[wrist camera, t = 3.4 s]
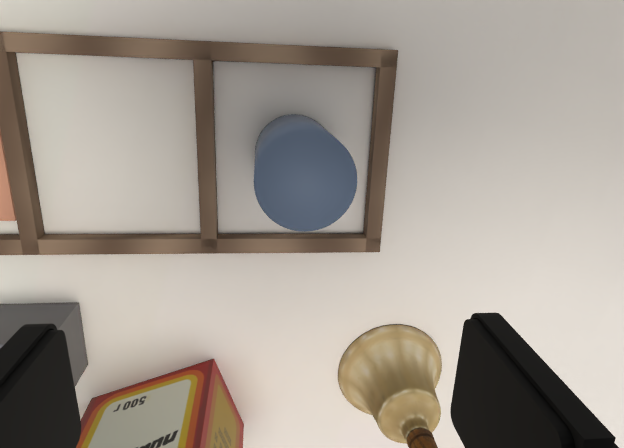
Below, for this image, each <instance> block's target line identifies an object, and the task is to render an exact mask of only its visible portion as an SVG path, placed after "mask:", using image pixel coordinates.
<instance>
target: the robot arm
mask: <svg viewBox="0 0 624 448" xmlns="http://www.w3.org/2000/svg"><path fill="white" fill-rule="evenodd" d="M451 419H452V422H453V425H454V427H455V429H456V431H457V433H458V435H459V437H460V439H461V441H462V443H463V444H464V446H465V448H619V447H618V446H617V445H616V444H615V443H614V441H615V437H614V436H613V435H612V434H611V433H610V431H609V430H608V429H607V428H606V427H605V426H604V425H603V424H602V423H601V422H600V421H599V420H598V419H597V418H596V416H595V415H594V414H593V413H592V412H591V411H590V410H589V409H588V408H587V407H586V406H585V405H584V404H583V403H582V401H581V400H580V399H579V398H578V397H577V396H576V395H575V394H574V393H573V392H572V391H571V390H570V389H569V388H568V387H567V385H566V384H565V383H564V382H563V381H562V380H561V379H560V378H559V377H558V376H557V375H556V374H555V373H554V372H553V370H552V369H551V368H550V367H549V366H548V365H547V364H546V363H545V362H544V361H543V360H542V359H541V358H540V357H539V355H538V354H537V353H536V352H535V351H534V350H533V349H532V348H531V347H530V346H529V345H528V344H527V343H526V342H525V341H524V339H523V338H522V337H521V336H520V335H519V334H518V333H517V332H516V331H515V330H514V329H513V328H512V327H511V326H510V324H509V323H508V322H507V321H506V320H505V319H504V318H503V317H502V316H501V315H500V314H499V313H474V314H473V315H472V316H471V319H467V320H465V322H464V326H463V332H462V339H461V345H460V352H459V358H458V365H457V371H456V377H455V384H454V390H453V397H452V403H451ZM80 435H81V421H80V415H79V410H78V404H77V398H76V392H75V387H74V381H73V375H72V370H71V364H70V358H69V353H68V347H67V341H66V336H65V333H64V331H63V330H57V327H56V326H55V325H54V324H53V323H51V324H25V325H23V326H22V327H21V328H20V329H19V330H18V331H17V332H16V333H15V334H14V335H13V336H12V337H11V338H10V339H9V340H8V341H7V342H6V343H5V344H4V345H3V346H2V348H1V349H0V448H76V446H77V444H78V442H79V439H80Z"/></svg>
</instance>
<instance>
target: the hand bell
mask: <svg viewBox="0 0 624 448" xmlns="http://www.w3.org/2000/svg"><path fill="white" fill-rule="evenodd" d="M441 368H442V363H441V355H440V352H439V350H438V347H437V346H436V344H435V342H434V341H433V340H432V339H431V338H430V337H429V336H428V335H427V334H425V333H424V332H422V331H421V330H419V329H416V328H414V327H411V326H406V325H387V326H382V327H378V328H374V329H372V330H370V331H368V332H366V333H364V334H363V335H361V336H360V337H359V338H357V339H356V340H355V341H354V342H353V343H352V344H351V345H350V346H349V347H348V349H347V350H346V352H345V353H344V355H343V357H342V359H341V362H340V365H339V370H338V381H339V385H340V389H341V391H342V393H343V395H344V396H345V398H346V399H347V400H348V401H349V402H350V403H351V404H352V405H353V406H354V407H356V408H357V409H359V410H361V411H363V412H365V413H368V414H371V415H373V417H374V419H375V420H376V422H377V424H378V426H379V428H380V430H381V432H382V433H383V434H384V435H385V436H386V437H387V438H389V439H391V440H393V441H395V442H399V443H407V444H408V447H409V448H438V447H437V445H436V442H435V441H434V437H433V435H432V432H433V431H434V430H435V428H436V427H437V425H438V423H439V420H440V415H441V408H440V404H439V401H438V399H437V396H436V393H435V388H436V386H437V384H438V381H439V378H440V374H441Z"/></svg>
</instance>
